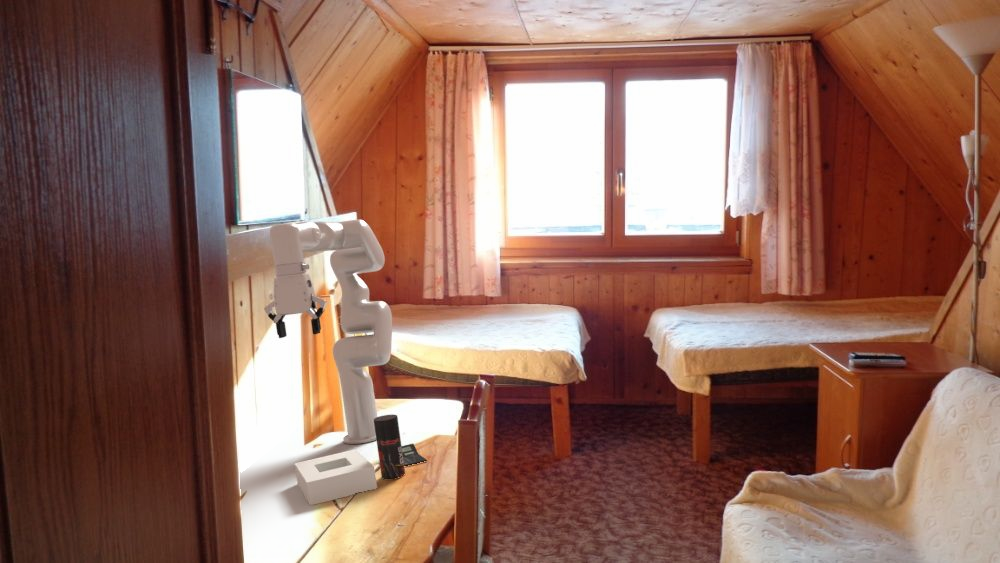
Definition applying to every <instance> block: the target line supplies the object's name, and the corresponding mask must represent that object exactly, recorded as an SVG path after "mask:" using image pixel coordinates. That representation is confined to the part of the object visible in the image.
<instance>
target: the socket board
mask: <svg viewBox="0 0 1000 563" xmlns="http://www.w3.org/2000/svg"><path fill="white" fill-rule="evenodd" d="M293 464H294V469H295V475H296V482H297V486H298V485H299V486H298V488H299V489H300V491H301V492H302V494H303V495H304V498H305V499H306V502H308V504H309V506H314V505H317V504H322V503H326V502H327V503H328V502H330V501H335V500H337V499H338V498H339V499H342V498H346V497H350V496H353V495H352V494H354V495H356V494H355V493H358V492H362V493H364V492H363V491H366V492H368V491H367V490H370V491H373V490H372V489H374V490H377V489H378V484H377V478H376V471H375V466H374V465H373V464H372V463H371V462H370V461H369V460H368V459H367V458H366V457H365V456H364V455H363V454H361V452H359V451H358V449H357V448H356V449H351V450H347V451H342V452H338V453H333V454H329V455H324V456H320V457H317V458H316V457H315V458H312V459H309V460H303V461H297V462H295V463H293ZM376 488H377V489H376ZM358 494H359V493H358ZM349 495H350V496H349Z"/></svg>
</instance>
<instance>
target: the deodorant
mask: <svg viewBox="0 0 1000 563" xmlns="http://www.w3.org/2000/svg"><path fill="white" fill-rule="evenodd" d="M374 426H375V433H376V440H375V441H376V445H377V452H378V453H377V454H378V461H379V468H380V475H381V479H382V478H384V479H393V480H396V479H395V478H398V477H401V476H403V475H404V474H405V475H406V469H405V468H406V467H405V468H404V461H403V453H402V446H403V445H402V440H401V433H400V427H399V418H398V415H397V414H384V415H381V416H377V417H376V418H375V419H374ZM403 477H404V476H403ZM401 478H402V477H401ZM384 479H383V480H384ZM398 479H399V478H398Z"/></svg>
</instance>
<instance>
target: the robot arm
mask: <svg viewBox="0 0 1000 563" xmlns="http://www.w3.org/2000/svg"><path fill="white" fill-rule="evenodd" d="M269 230H270V238H271V245H272V250H271V252H272V258H273V265H274V271H275V278H274V280H273V300H272V301H271V302H270V303H269V304H267V305H266V306H265V307H264V308H263V310H264V311H265V313H266V315H267V317H268V318H269V319H270V320H272V321H273V323H274V324H275V328H276V334H277V335H278V339H282V338H283V339H284V338H286V337H287V329H286V322H285V321H283V320H284V319H285V317H286V316H288V315H298V314H305V313H307V314H308V315H309V316H310V317H311V318H312V319H311V320H310V322H311V331H312V334H313V335H318V334H321V330H322V325H321V317H322V314H323V313H324V312H325V309H326V306H327V304H328V301H327V300H326V299H324V298H323V297H322V298H321V297H320V296H317V295H316V293H315V292H316V291H315V288H314V285H313V282H312V279H311V275H310V274H309V273H306V272H307V270H310V264H309V263H308V264H306V262H305V258H304V253H316V252H329V251H330V252H331V251H333V252H332V253H331V254H330V256H329V263H330V266H331V269H332V271H333V273H334V276H335V277H336V279H337V281H338V283H339V286H340V288H341V303H340V304H341V305H340V320H339V321H340V329H341V330H342V332H343V333H345V334H348V335H350V336H346V337H342V338H340V339H338V340H337V341H335V343H334V344H333V348H332V357H333V360H334V362H335V365H336V369H337V372H338V376H339V382H340V387H341V395H342V402H343V407H344V416H345V424H346V429H347V435H346V434H345V436H344V437H343V439H342V440H343V443H345V444H348V445H358V444H365V443H370V442H374V441H377V440H376V433H375V426H374V419H375V418H376V417H378V412H377V406H376V397H375V391H374V384H373V379H372V376H371V375H370V374H369V372H368V371H367V370H366V369H365V367H375V366H383V365H386V364H387V363H388V362H389V361H390V359H391V354H392V340H393V338H392V333H393V314H392V310H391V308H390V305H389V304H388V303H386V302H385V301H383V300H373V301H370V289H369V287H368V285H367V284H366V283H365V281H364V280H363V279H362V278H361V277H360V276H359V275H358V274H365V273H372V272H373V273H374V272H378V271H380V270H381V269H382V268H384V265H385V263H386V262H385V261H386V257H385V254H384V251H383V248H382V246H381V244H380V243H379V240H378V239H377V236H376V235H375V233H374V232H373V230H372V228H371V227H370V225H369V224H368V223H367V222H366V221H364V220H363V219H351V220H344V221H313V222H311V221H300V222H292V223H291V222H287V223H280V224H275V225H272V226H271V227H270V229H269ZM273 309H275V312H274V311H273ZM371 333H373V334H371ZM363 334H365V335H363ZM351 335H354V336H351Z"/></svg>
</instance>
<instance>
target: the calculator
mask: <svg viewBox="0 0 1000 563" xmlns="http://www.w3.org/2000/svg"><path fill="white" fill-rule="evenodd" d="M401 446H402V453H403V461H404V466H408V465H412V464H417V463H420V462H424V461H427V462H428V460H427V458H425V457H424V456H422V455H421V454H420V453H419V452H418V450H417V448H416V446H415V444H414V443H409V444H405V445H401ZM417 465H418V464H417Z"/></svg>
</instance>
